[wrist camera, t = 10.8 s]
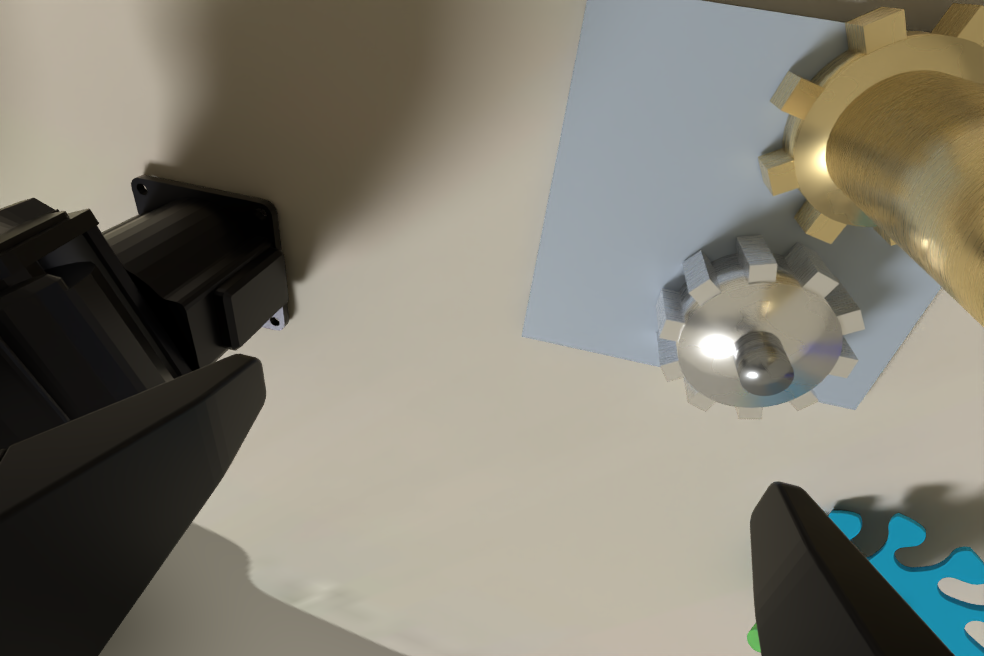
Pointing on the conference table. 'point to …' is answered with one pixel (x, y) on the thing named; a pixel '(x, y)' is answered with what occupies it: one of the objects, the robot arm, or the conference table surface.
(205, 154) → the conference table surface
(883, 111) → the gear
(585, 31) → the carrier plate
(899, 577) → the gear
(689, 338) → the sun gear
